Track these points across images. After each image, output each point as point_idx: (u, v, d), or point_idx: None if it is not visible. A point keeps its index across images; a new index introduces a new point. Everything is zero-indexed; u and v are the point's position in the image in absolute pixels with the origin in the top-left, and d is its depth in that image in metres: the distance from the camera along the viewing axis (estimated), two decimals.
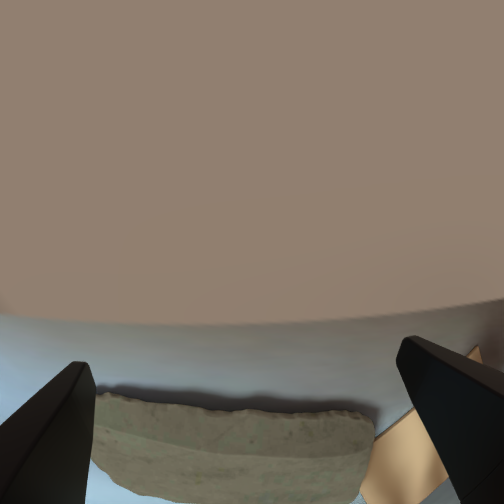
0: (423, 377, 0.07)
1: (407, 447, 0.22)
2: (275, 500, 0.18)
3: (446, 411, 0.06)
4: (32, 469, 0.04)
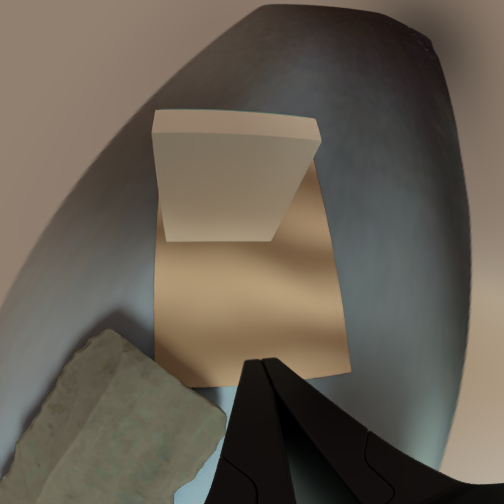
0: None
1: (207, 292, 0.20)
2: (140, 494, 0.13)
3: (290, 458, 0.06)
4: None
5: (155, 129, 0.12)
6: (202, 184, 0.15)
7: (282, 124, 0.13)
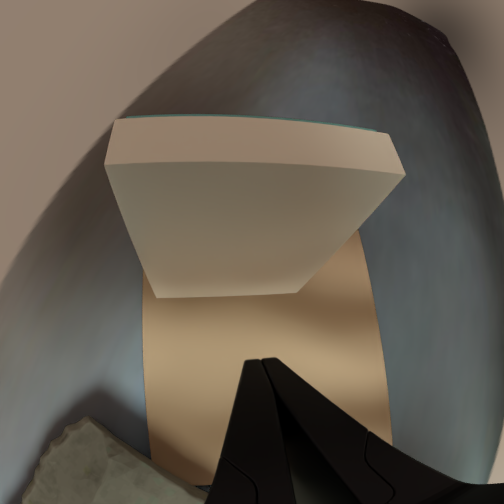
0: None
1: (214, 368, 0.14)
2: None
3: (289, 458, 0.06)
4: None
5: (111, 157, 0.06)
6: (202, 239, 0.10)
7: (342, 143, 0.07)
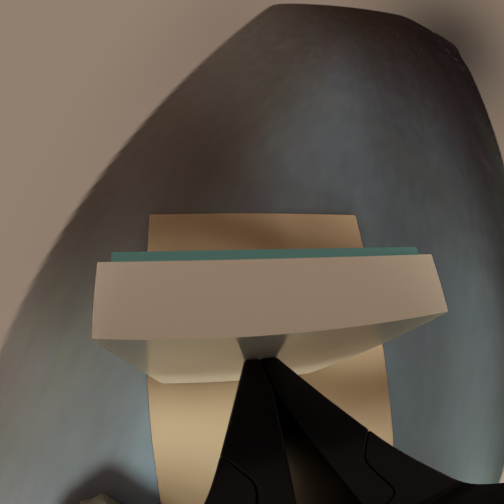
0: None
1: None
2: None
3: (290, 458, 0.06)
4: None
5: (99, 328, 0.05)
6: (213, 365, 0.08)
7: (382, 284, 0.06)
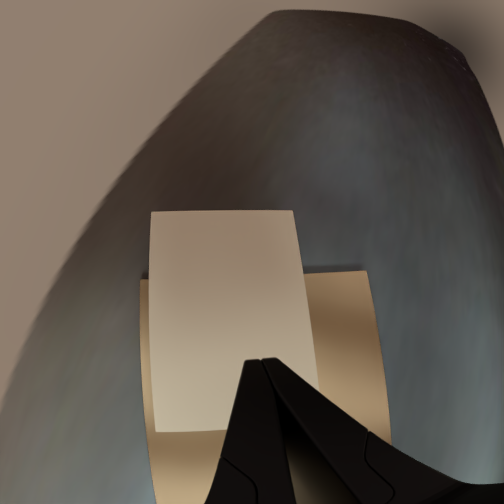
0: None
1: None
2: None
3: (289, 458, 0.06)
4: None
5: (154, 213, 0.15)
6: (197, 282, 0.14)
7: None
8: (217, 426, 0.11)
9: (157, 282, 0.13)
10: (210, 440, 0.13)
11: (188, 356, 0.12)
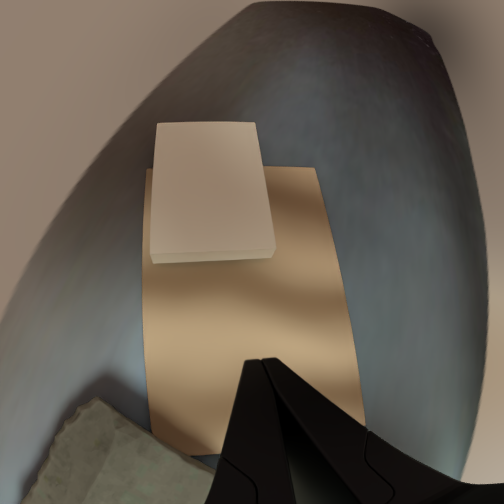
0: None
1: (204, 352, 0.17)
2: None
3: (290, 458, 0.06)
4: None
5: None
6: (187, 160, 0.19)
7: None
8: (196, 249, 0.17)
9: (159, 160, 0.19)
10: (191, 275, 0.18)
11: (178, 202, 0.18)
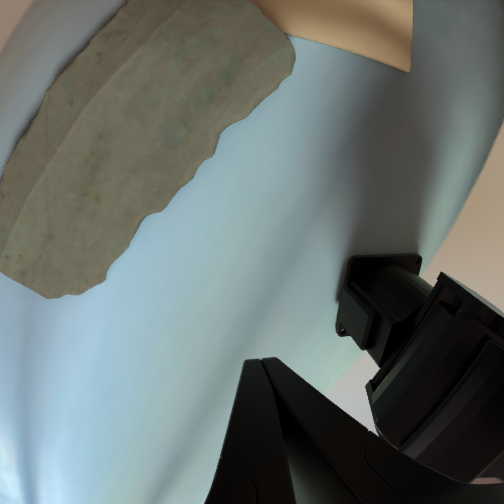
0: None
1: None
2: (186, 125, 0.15)
3: (290, 458, 0.06)
4: None
5: None
6: None
7: None
8: None
9: None
10: None
11: None
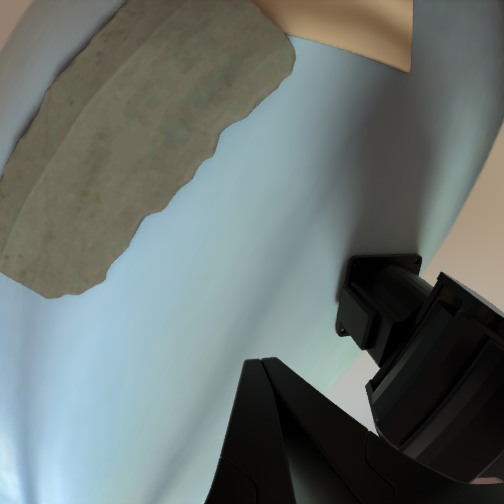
0: None
1: None
2: (186, 125, 0.15)
3: (289, 458, 0.06)
4: None
5: None
6: None
7: None
8: None
9: None
10: None
11: None
